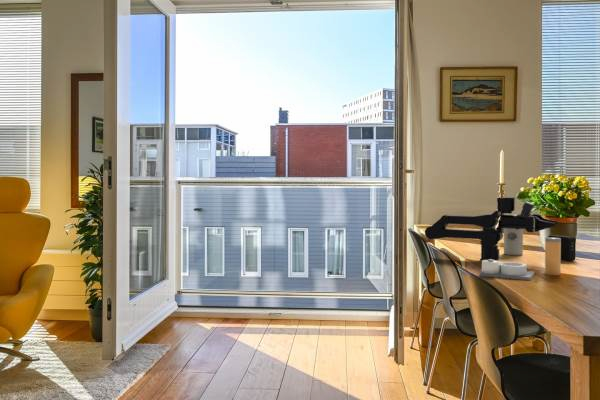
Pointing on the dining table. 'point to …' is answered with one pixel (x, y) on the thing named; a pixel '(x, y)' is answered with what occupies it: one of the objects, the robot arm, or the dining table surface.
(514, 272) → the housing
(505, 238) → the travel mug
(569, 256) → the electronic device
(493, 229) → the robot arm
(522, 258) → the dining table surface
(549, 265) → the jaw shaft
